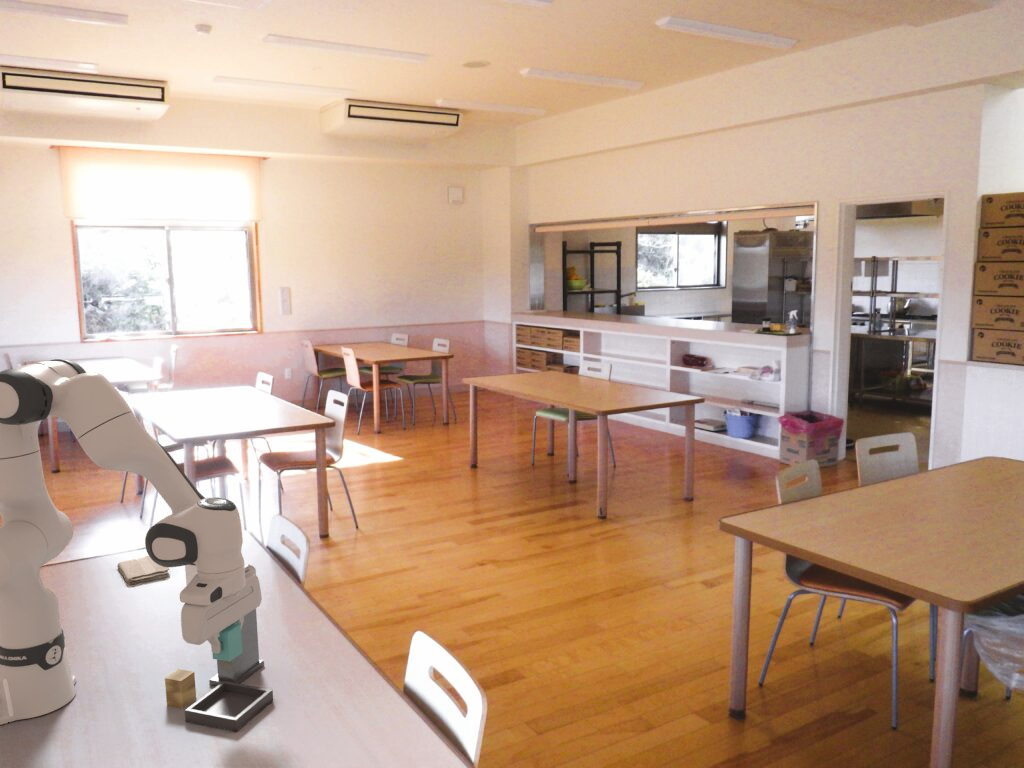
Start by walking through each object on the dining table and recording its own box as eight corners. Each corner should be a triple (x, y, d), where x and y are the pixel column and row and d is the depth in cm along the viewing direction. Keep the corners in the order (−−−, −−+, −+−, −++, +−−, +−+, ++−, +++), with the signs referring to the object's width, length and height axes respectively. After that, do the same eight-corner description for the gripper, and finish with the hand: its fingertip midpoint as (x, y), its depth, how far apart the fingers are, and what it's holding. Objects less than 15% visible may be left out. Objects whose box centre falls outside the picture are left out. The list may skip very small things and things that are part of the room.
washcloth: (128, 588, 232) (128, 577, 232) (116, 569, 247) (115, 559, 246) (173, 578, 239) (172, 568, 239) (158, 560, 254) (157, 551, 253)
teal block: (212, 658, 164) (210, 630, 163) (225, 649, 168) (223, 621, 167) (229, 661, 163) (227, 632, 162) (242, 652, 166) (240, 624, 166)
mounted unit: (209, 684, 178) (205, 622, 175) (241, 661, 188) (237, 602, 186) (233, 689, 176) (229, 626, 174) (264, 665, 186) (260, 605, 184)
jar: (217, 597, 224) (214, 555, 222) (185, 600, 222) (182, 557, 221) (221, 585, 233) (218, 544, 231) (190, 587, 231) (187, 546, 229)
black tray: (185, 721, 163) (184, 710, 163) (224, 692, 175) (223, 680, 174) (236, 732, 160) (235, 720, 159) (273, 701, 171) (272, 689, 170)
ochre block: (167, 705, 170) (164, 678, 169) (180, 695, 173) (178, 669, 172) (182, 708, 168) (180, 681, 167) (196, 698, 172) (194, 671, 171)
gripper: (241, 559, 174) (245, 622, 176) (172, 597, 154) (178, 666, 157) (266, 562, 172) (270, 625, 174) (200, 601, 152) (206, 671, 155)
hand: (226, 645), depth 165 cm, fingers closed on teal block, 4 cm apart
